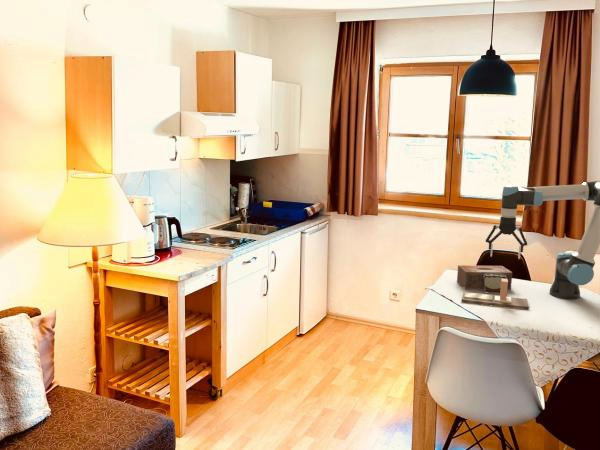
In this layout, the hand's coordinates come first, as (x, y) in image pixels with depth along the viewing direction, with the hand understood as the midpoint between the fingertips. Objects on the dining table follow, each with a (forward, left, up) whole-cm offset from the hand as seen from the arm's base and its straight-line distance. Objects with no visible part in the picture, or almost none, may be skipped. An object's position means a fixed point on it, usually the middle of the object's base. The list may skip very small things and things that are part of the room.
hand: (505, 257), depth 309 cm
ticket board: (+3, +7, -23) cm, 24 cm away
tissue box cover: (+9, -23, -23) cm, 34 cm away
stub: (-1, +7, -21) cm, 22 cm away
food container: (+4, -13, -23) cm, 27 cm away
